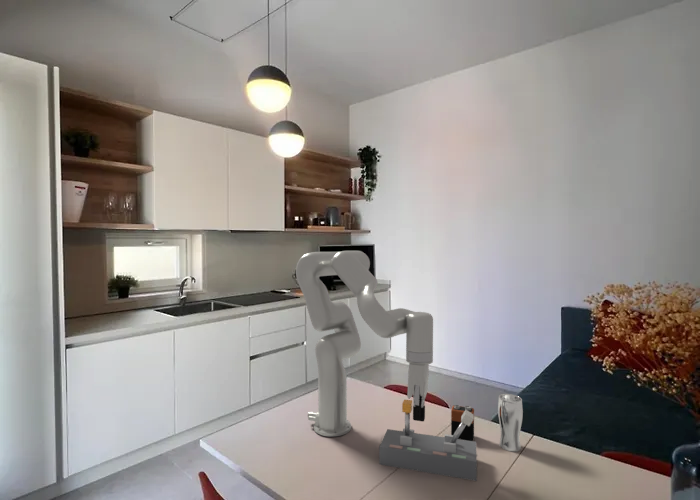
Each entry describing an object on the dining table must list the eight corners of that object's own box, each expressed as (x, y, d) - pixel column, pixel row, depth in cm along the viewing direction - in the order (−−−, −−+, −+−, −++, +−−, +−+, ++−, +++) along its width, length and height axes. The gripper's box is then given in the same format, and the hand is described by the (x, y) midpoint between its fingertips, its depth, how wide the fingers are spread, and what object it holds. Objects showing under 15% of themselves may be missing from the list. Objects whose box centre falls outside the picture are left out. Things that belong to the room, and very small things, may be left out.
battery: (473, 442, 122) (473, 410, 122) (450, 438, 124) (451, 407, 124) (474, 435, 126) (474, 405, 126) (452, 432, 128) (452, 402, 128)
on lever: (445, 445, 108) (465, 414, 106) (446, 439, 111) (465, 409, 109) (453, 450, 107) (473, 419, 105) (454, 445, 110) (473, 414, 108)
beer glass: (521, 443, 121) (521, 395, 121) (523, 454, 115) (523, 403, 115) (497, 439, 124) (497, 392, 123) (498, 450, 117) (498, 400, 117)
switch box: (379, 464, 109) (379, 438, 109) (387, 445, 120) (387, 421, 120) (476, 480, 102) (476, 453, 102) (476, 459, 112) (476, 434, 112)
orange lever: (402, 440, 111) (402, 403, 111) (404, 435, 114) (404, 399, 114) (410, 442, 111) (410, 404, 111) (412, 436, 114) (412, 400, 114)
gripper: (410, 348, 120) (409, 407, 120) (402, 362, 105) (401, 429, 105) (435, 350, 117) (434, 410, 118) (430, 364, 103) (429, 433, 103)
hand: (418, 419), depth 111 cm, fingers closed
